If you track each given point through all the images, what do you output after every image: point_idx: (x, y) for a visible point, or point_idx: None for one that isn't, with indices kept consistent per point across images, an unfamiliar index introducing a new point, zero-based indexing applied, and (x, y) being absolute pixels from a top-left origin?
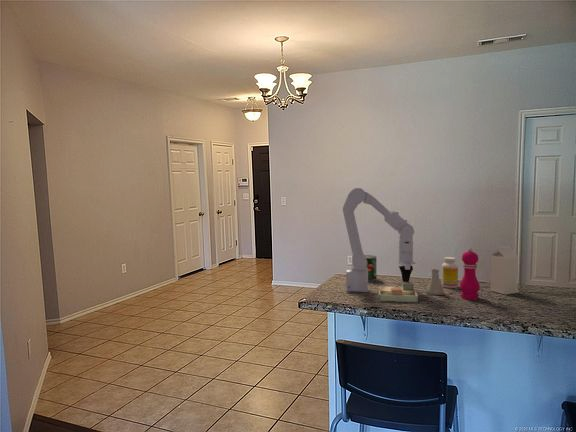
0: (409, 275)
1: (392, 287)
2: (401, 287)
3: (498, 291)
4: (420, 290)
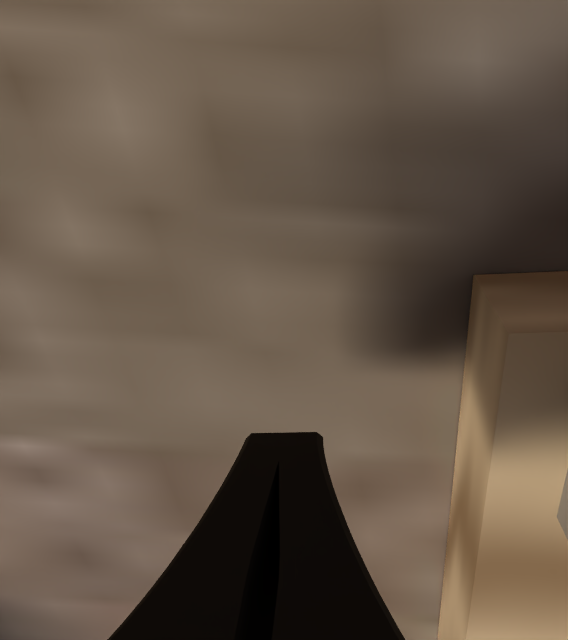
0: (382, 610)
1: (531, 629)
2: (537, 525)
3: None
4: (223, 108)
